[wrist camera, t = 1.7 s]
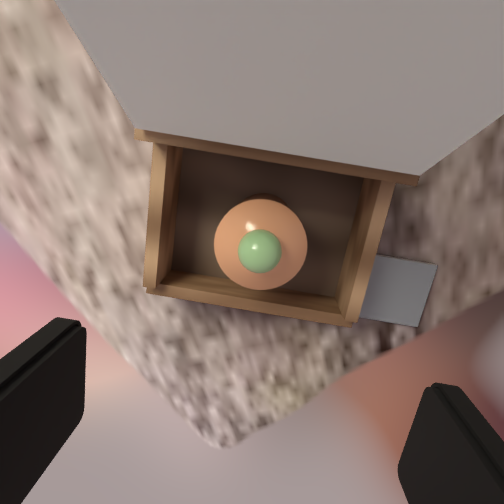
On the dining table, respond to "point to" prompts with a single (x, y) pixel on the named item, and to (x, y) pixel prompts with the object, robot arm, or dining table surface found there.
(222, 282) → the open wooden box
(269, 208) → the terracotta pot
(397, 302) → the slate tile
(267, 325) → the dining table surface
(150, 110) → the lid
